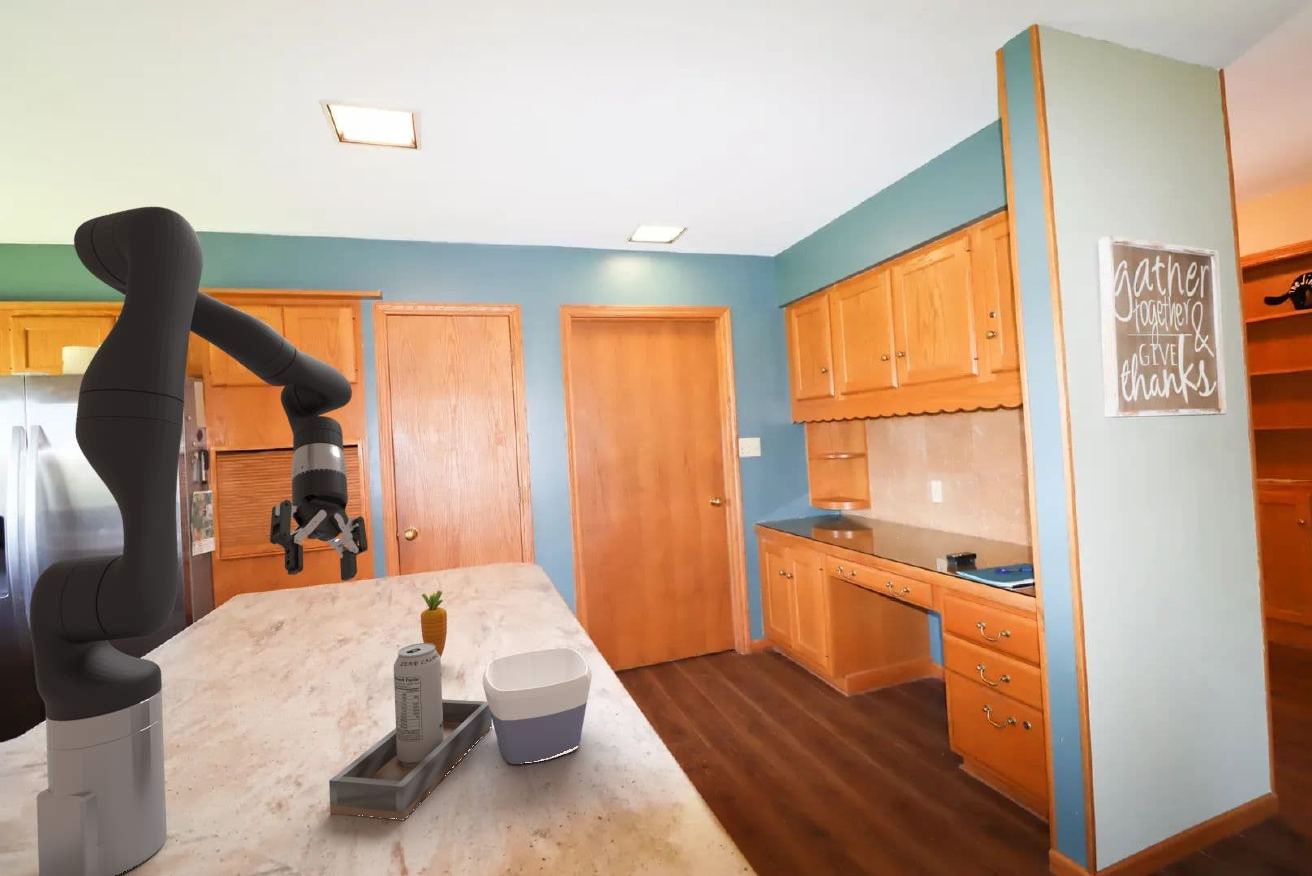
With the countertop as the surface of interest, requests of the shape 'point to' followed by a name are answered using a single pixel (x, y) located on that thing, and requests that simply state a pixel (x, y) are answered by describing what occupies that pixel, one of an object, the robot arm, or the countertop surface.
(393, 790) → the rectangular tray
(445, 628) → the carrot
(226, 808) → the countertop surface
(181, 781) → the countertop surface
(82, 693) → the robot arm
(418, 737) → the energy drink can
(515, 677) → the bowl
